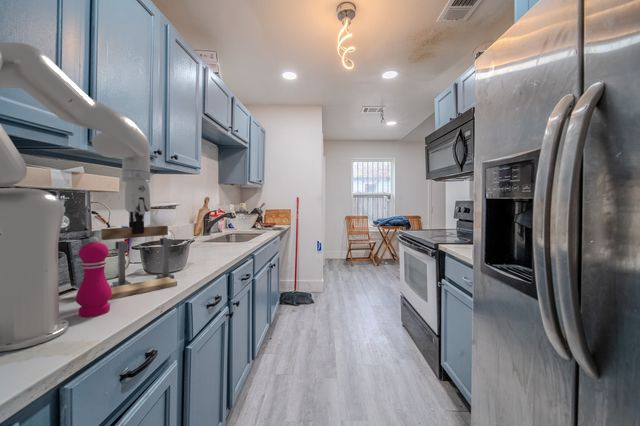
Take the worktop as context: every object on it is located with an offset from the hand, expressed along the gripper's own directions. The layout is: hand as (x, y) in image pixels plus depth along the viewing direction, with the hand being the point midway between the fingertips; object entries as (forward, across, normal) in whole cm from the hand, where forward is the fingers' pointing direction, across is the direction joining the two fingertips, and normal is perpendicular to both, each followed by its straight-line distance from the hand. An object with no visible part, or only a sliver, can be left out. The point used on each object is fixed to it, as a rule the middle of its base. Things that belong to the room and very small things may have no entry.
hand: (136, 232), depth 88 cm
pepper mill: (+19, -13, +13) cm, 27 cm away
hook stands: (+19, +9, -5) cm, 22 cm away
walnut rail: (+1, 0, 0) cm, 1 cm away
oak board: (+19, 0, 0) cm, 19 cm away
